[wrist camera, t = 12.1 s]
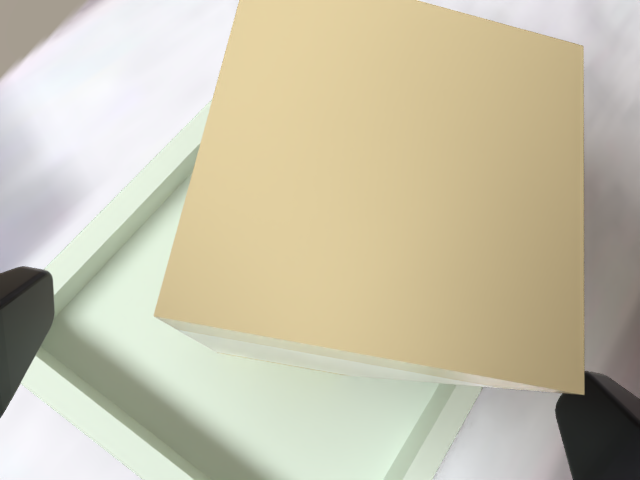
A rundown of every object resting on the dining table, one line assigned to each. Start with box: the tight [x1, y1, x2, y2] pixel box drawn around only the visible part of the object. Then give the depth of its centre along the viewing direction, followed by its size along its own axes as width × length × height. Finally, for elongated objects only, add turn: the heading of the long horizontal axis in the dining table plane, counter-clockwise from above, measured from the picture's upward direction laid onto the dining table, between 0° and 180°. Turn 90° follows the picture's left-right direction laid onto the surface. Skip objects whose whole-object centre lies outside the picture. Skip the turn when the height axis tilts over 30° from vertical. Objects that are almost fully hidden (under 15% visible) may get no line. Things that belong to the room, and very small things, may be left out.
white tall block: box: [154, 0, 584, 395], centre depth 11 cm, size 4×4×12 cm
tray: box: [20, 100, 483, 480], centre depth 16 cm, size 14×14×2 cm
